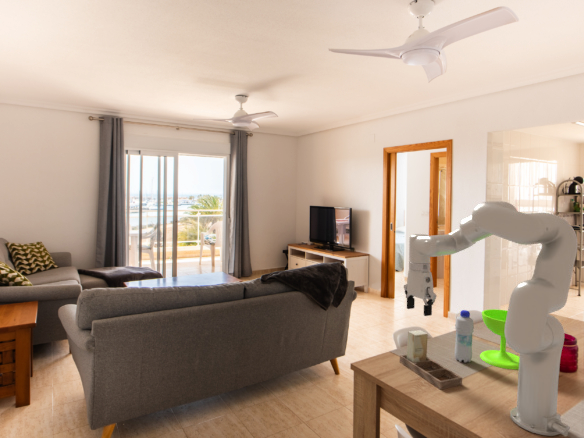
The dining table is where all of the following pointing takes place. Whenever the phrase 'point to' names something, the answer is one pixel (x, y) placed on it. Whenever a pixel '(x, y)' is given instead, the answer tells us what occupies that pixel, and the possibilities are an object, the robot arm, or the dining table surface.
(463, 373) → the dining table surface
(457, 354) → the bottle
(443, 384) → the notch rack
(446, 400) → the dining table surface
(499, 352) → the wineglass
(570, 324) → the dining table surface
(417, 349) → the skincare box
